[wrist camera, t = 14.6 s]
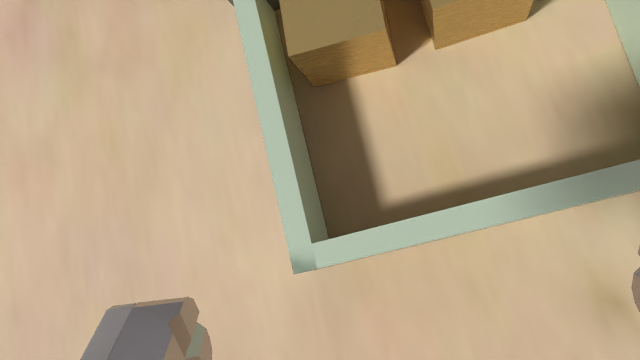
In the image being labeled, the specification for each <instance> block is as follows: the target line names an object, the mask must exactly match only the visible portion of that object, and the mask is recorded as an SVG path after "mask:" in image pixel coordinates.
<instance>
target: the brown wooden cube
mask: <svg viewBox="0 0 640 360" xmlns="http://www.w3.org/2000/svg"><path fill="white" fill-rule="evenodd" d="M279 2H280V8H281V15H282V21H283V27H284V33H285V40H286V46H287V52H288V57H289V58H290V59H291V60H292V61H293V63H294V64H295V65H296V66H297V67H298V68H299V69H300V71H301V72H302V73H303V74H304V75H305V76H306V77H307V79H308V80H309V81H310V82H311V83H312V84H313V85H314V87H316V86H320V85H324V84H328V83H332V82H336V81H340V80H344V79H347V78H351V77H355V76H359V75H363V74H367V73H371V72H375V71H379V70H383V69H386V68H390V67H394V66H397V64H396V59H395V55H394V50H393V45H392V40H391V35H390V30H389V25H388V20H387V15H386V10H385V5H384V0H279Z"/></svg>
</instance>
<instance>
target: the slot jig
mask: <svg viewBox="0 0 640 360" xmlns="http://www.w3.org/2000/svg"><path fill="white" fill-rule="evenodd" d="M266 1H267V2H268V3H269V5H270V6H271V7H272V9H273V10H274V11H275V10H278V9H280V2H279V0H266ZM229 2H230V3H231V4H232V5H233V6H234V3H233V0H229Z"/></svg>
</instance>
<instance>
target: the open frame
mask: <svg viewBox="0 0 640 360" xmlns="http://www.w3.org/2000/svg"><path fill="white" fill-rule="evenodd" d="M605 1H606V3H607V6H608V8H609V11H610V14H611V16H612V19H613V21H614V24H615V26H616V29H617V32H618V34H619V37H620V39H621V42H622V44H623V47H624V49H625V52H626V55H627V57H628V60H629V62H630V65H631V67H632V70H633V73H634V75H635V78H636V80H637V83H638V85H639V88H640V0H605ZM233 3H234V7H235V12H236V16H237V21H238V25H239V30H240V35H241V39H242V44H243V48H244V53H245V57H246V62H247V66H248V71H249V75H250V80H251V84H252V89H253V93H254V98H255V102H256V107H257V111H258V116H259V120H260V125H261V129H262V134H263V138H264V143H265V147H266V152H267V156H268V161H269V165H270V170H271V174H272V179H273V183H274V188H275V192H276V197H277V201H278V206H279V210H280V215H281V219H282V224H283V228H284V233H285V237H286V242H287V246H288V251H289V255H290V260H291V264H292V269H293V273H294V274H298V273H303V272H307V271H312V270H316V269H320V268H325V267H329V266H333V265H337V264H341V263H345V262H349V261H353V260H357V259H362V258H366V257H370V256H374V255H378V254H382V253H386V252H390V251H394V250H398V249H403V248H407V247H411V246H415V245H419V244H423V243H427V242H431V241H435V240H440V239H444V238H448V237H452V236H456V235H460V234H464V233H468V232H472V231H477V230H481V229H485V228H489V227H493V226H497V225H501V224H505V223H509V222H514V221H518V220H522V219H526V218H530V217H534V216H538V215H542V214H546V213H550V212H555V211H559V210H563V209H567V208H571V207H575V206H579V205H583V204H587V203H592V202H596V201H600V200H604V199H608V198H612V197H616V196H620V195H624V194H629V193H633V192H637V191H640V159H639V160H635V161H631V162H627V163H624V164H620V165H616V166H612V167H608V168H604V169H600V170H596V171H592V172H589V173H585V174H581V175H577V176H573V177H569V178H565V179H561V180H557V181H554V182H550V183H546V184H542V185H538V186H534V187H530V188H526V189H522V190H519V191H515V192H511V193H507V194H503V195H499V196H495V197H491V198H487V199H483V200H480V201H476V202H472V203H468V204H464V205H460V206H456V207H452V208H448V209H445V210H441V211H437V212H433V213H429V214H425V215H421V216H417V217H413V218H410V219H406V220H402V221H398V222H394V223H390V224H386V225H382V226H378V227H375V228H371V229H367V230H363V231H359V232H355V233H351V234H347V235H343V236H340V237H336V238H332V239H329V238H328V234H327V229H326V225H325V221H324V217H323V213H322V209H321V204H320V200H319V196H318V192H317V188H316V183H315V179H314V175H313V171H312V167H311V163H310V158H309V154H308V150H307V146H306V142H305V138H304V133H303V129H302V125H301V121H300V117H299V112H298V108H297V104H296V100H295V96H294V92H293V87H292V83H291V79H290V75H289V71H288V67H287V62H286V58H285V54H284V50H283V46H282V41H281V37H280V33H279V29H278V25H277V21H276V16H275V12H274V10H273V9H272V7H271V6H270V5H269V3H268V2H267V1H266V0H233Z"/></svg>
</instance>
